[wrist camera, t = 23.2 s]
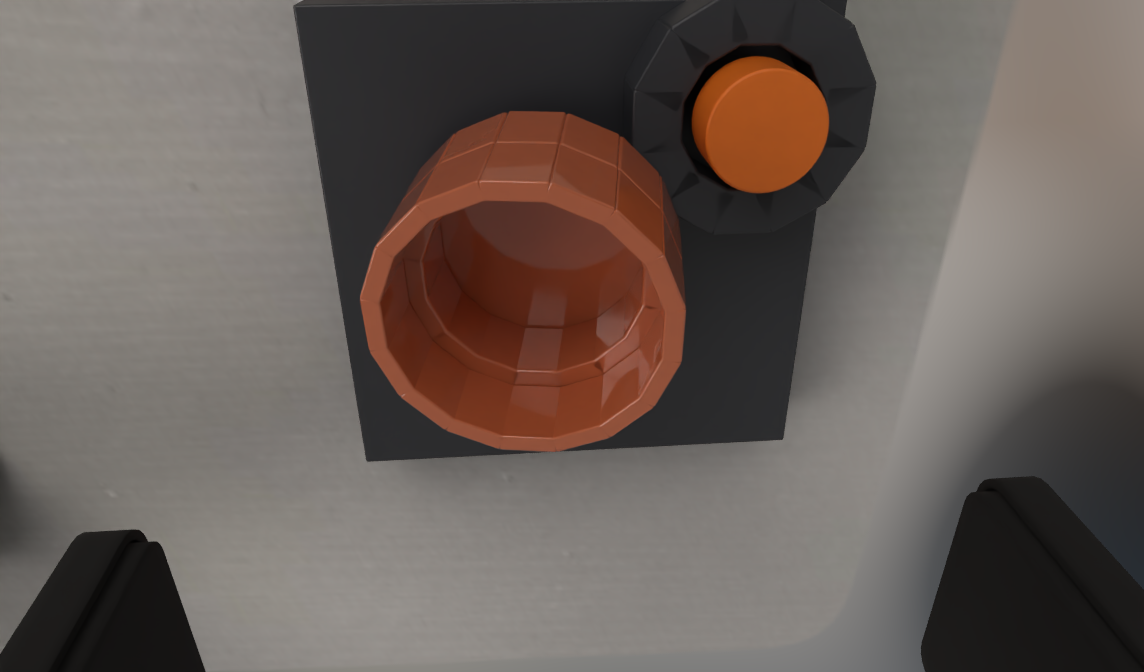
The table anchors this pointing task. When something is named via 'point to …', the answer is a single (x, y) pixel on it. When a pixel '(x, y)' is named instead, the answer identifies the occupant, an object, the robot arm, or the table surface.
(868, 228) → the table surface
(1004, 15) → the table surface
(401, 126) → the scale
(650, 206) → the flower pot
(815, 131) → the button
